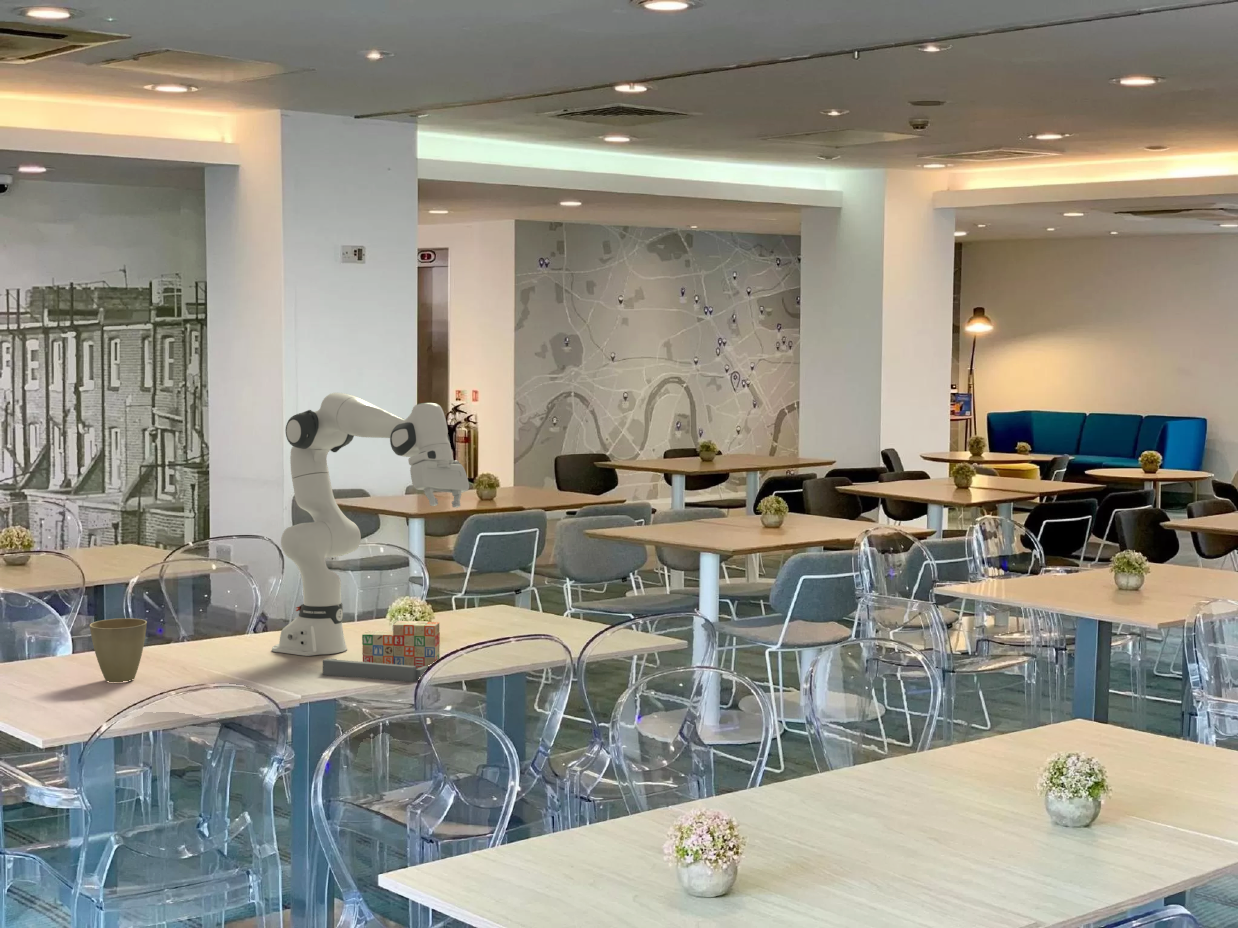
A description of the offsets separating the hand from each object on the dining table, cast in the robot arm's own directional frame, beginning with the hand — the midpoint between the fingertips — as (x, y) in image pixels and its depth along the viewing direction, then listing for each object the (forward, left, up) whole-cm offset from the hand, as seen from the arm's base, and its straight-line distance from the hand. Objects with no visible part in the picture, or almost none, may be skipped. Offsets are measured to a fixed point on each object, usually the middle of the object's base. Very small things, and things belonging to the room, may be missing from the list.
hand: (445, 506), depth 425 cm
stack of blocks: (-19, +9, -48) cm, 52 cm away
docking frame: (-19, -7, -47) cm, 51 cm away
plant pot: (-81, -37, -47) cm, 101 cm away
